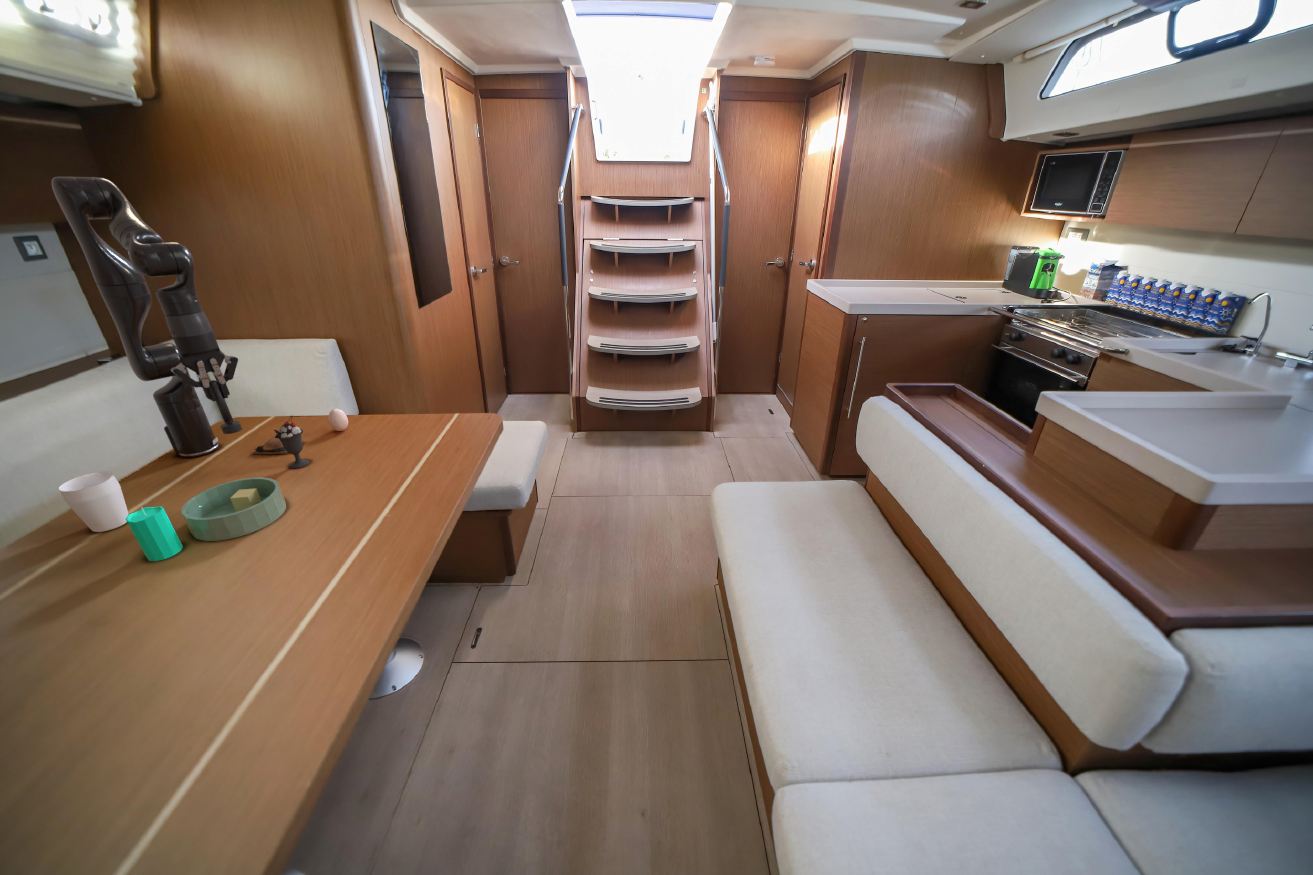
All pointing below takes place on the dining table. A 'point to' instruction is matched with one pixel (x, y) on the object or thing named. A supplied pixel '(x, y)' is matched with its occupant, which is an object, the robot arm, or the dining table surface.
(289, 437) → the sundae
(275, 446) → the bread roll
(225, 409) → the dark grey plunger
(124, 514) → the cup
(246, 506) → the block
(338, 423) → the egg
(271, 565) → the dining table surface
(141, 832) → the dining table surface
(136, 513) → the candle
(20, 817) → the dining table surface
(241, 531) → the bowl
